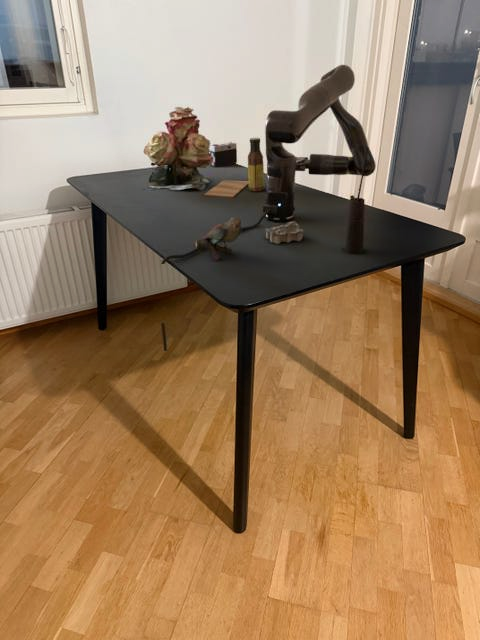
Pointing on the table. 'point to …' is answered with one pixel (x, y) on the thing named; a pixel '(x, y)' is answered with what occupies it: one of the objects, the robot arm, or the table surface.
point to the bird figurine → (221, 237)
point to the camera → (223, 154)
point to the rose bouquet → (179, 153)
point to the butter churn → (356, 221)
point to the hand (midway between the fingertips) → (279, 163)
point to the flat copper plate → (227, 188)
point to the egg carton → (284, 233)
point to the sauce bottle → (255, 166)
